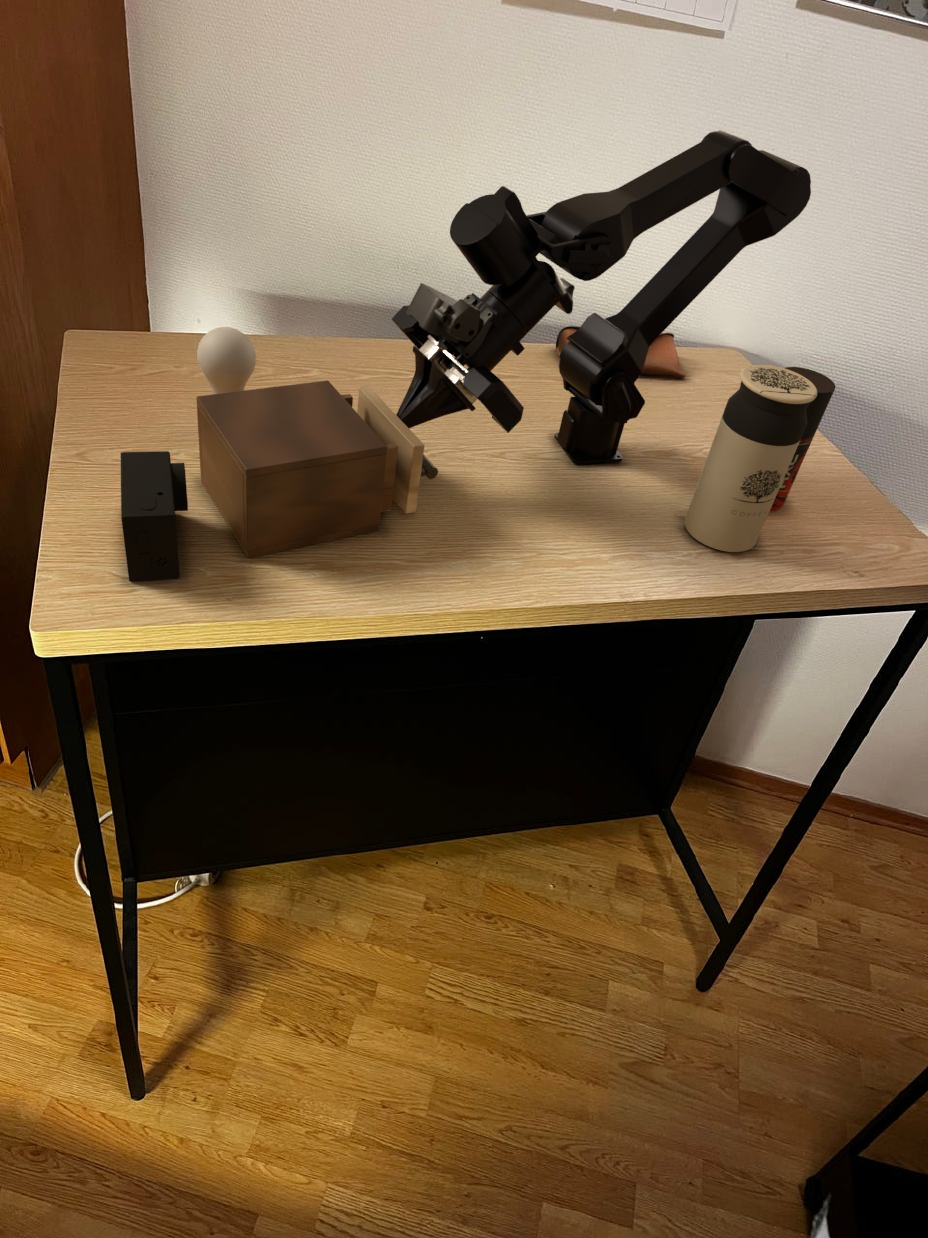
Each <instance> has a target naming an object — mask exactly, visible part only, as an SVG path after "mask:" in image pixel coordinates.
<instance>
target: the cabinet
mask: <svg viewBox="0 0 928 1238" xmlns="http://www.w3.org/2000/svg"><path fill="white" fill-rule="evenodd" d="M342 395H343V394H341V393H340V392H339V391H338V389H337V388H336V387H335V386H334V385H332V383H331V382H330V381H329V380H321V381H312V382H304V383H295V384H288V385H287V384H285V385H280V386H279V385H277V386H271V387H263V388H253V389H244V391H237V392H229V393H221V394H213V393H212V394H206V395H197V396H196V398H195V399H196V415H197V416H196V417H197V418H196V419H197V429H198V430H197V432H198V450H199V468H200V469H199V471H200V483H201V484H202V486H203V487H204V489H205V490H206V492H207V493H208V495H209V497H210V498H211V501H212V502H213V504H214V505H215V507H216V509H217V510H218V512H219V514H220V515H221V516H222V519H223V520H224V522H225V524H226V525H227V526H228V528H229V530H230V531H231V533H232V535H233V537H234V538H235V539H236V541H237V543H238V544H239V547H240V548H241V549H242V551H243V554H244V555H245V556H246V558H247V559H249V558H250V559H251V558H256V557H260V556H265V555H270V554H274V553H280V552H283V551H284V552H285V551H288V550H289V551H290V550H294V549H299V548H303V547H307V546H313V545H317V544H322V543H327V542H332V541H336V540H341V539H346V538H350V537H354V536H360V535H364V534H369V533H375V532H378V531H380V527H381V526H380V525H381V524H380V523H381V514H382V512H381V505H382V494H383V484H384V474H385V464H386V454H387V446H386V445H385V444H384V443H383V441H382V440H381V439H380V438H379V437H378V436H377V435H376V434H375V432H374V431H373V430H372V429H371V428H370V427H369V426H368V425H367V423H366V422H365V421H364V420H363V419H362V418H361V417H360V416H359V415H358V413H357V411H356V410H355V409H354V408H353V406H352V407H351V406H350V404H349V403H348V402H347V401H346V400H345V399H344V398H343V397H342Z"/></svg>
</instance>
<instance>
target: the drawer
mask: <svg viewBox="0 0 928 1238" xmlns="http://www.w3.org/2000/svg"><path fill="white" fill-rule="evenodd" d="M341 395H342V397H343V398H344V399H345V400H346V401H347V402H348V403H349V404H350V406H351V407H352V408H353V405H354V396H353V395H351V393H347V394H346V393H345V394H341ZM357 397H358V398H357V411H356V412H357V413H358V415H359V416H360V417H361V418H362V419H363V420H364V421H365V422H366V423H367V425H368V426H369V427H370V428H371V429H372V430H373V431H374V432H375V434H376V435H377V436H378V437H379V438H380V439H381V440H382V441H383V443H384V444H385V445H386V446H387V454H386V464H385V474H384V484H383V494H382V505H381V513H383V512H388V511H392V508H393V500H394V501H395V503H396V504H397V505H398V506H399V508H400V509H401V510H402V511H403V512H404V513H405V514H411V513H412V514H413V513H416V512H417V507H418V499H419V492H420V483H421V478H424V477H426V478H427V479H428V480H433V479H435V478H436V477H437V476H438V475H439V469H438V468H437V467H436V466H435V464H434V463H432V461H431V460H430V459H429V458H428V457H427V456H426V455H425V454H424V453H425V452H424V451H425V444H424V443H423V442H422V440H420V439H419V437H418V436H417V435H415V433H414V432H413V431H412V430H411V428H408V427H407V426H406V425H405V424H404V423H403V422H402V421H401V420H400V419H399V418H398V416H397V415H396V414H397V413H395V412H394V411H393V410H392V409H391V408H390V406H388V405H387V404H386V402H385V401H384V400H383V399H382V398H381V397H380V396H379V395H378V394H377V393H376V392H375V391H374V390H373V389H372V388H371V387H370V386H369V385H368V386H360V387H359V388H358V396H357Z"/></svg>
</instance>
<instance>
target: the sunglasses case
mask: <svg viewBox="0 0 928 1238" xmlns="http://www.w3.org/2000/svg"><path fill="white" fill-rule="evenodd" d="M580 327H581V326H579V325H578V326H575V325H568V326H565V327H563V328H562V329H560V330H559V331H558V333H557V337H556V341H555V352H556V354H557V356H558V358H559V359H560V353H561V351H562V350H563V348H564V347H565V346H566V344H567V343H568V342H569V340H568V339H567V337H568V336H570V335H571V334H573V333H574V332H576V331H577V330H578V329H579V328H580ZM674 338H675V334H674V333H672V332H662V333H661V334H660V335H659V336H658V337H657V338H656V339H655V340H654V341H653V343H652V344H651V345H650V346H649V349H648V353H647V357H646V360H645V364H644V368H643V371H642V373H641V375H640V376H639V377H657V378H661V377H663V378H665V377H666V378H667V377H668V378H673V377H674V378H675V377H676V378H677V377H685V378H686V375H687V374H685V373H684V372H683V370H682V367H681V363H680V358H679V355H678V352H677V351H678V350H677V347H676V343H675V340H674Z"/></svg>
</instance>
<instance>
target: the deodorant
mask: <svg viewBox="0 0 928 1238" xmlns="http://www.w3.org/2000/svg"><path fill="white" fill-rule="evenodd" d="M783 368H784V369H788V370H790V371H793V372H795V373H798V374H800V375H802V376H803V377H805V378H806V379H808V380H809V381H810V382H812V383H813V384H814V386H815V387H816V389H817V397H816V398H815V399H814V400H813V401H811V402H810V403H809V405H808V407H807V408H806V414H807V426H806V428H805V431H804V433H803V435H802V438H801V440H800V442H799V444H798V447H797V449H796V451H795V454H794V456H793V458H792V461H791V463H790V465H789V468H788V470H787V472H786V474H785V477H784V479H783V481H782V484H781V486H780V488H779V491H778V493H777V495H776V497H775V500H774V502H773V504H772V507H771V509H770V511H769V513H772V512H773V513H774V512H778V511H780V510H781V509H782V508H784V505H785V503H786V501H787V498H788V496H789V493H790V492H791V489H792V487H793V485H794V482H795V480H796V478H797V475H798V473H799V471H800V469H801V467H802V464H803V462H804V460H805V457H806V455H807V453H808V451H809V449H810V446H811V444H812V442H813V440H814V437H815V434H816V432H817V431H818V428H819V425H820V424H821V422H822V419H823V417H824V415H825V413H826V410H827V408H828V406H829V404H830V401H831V399H832V397H833V395H834V392H835V390H836V383H835V382H834V381H833V380H832V379H830V378H829V377H828V376H827V375H825V374H823V373H820V372H818V371H816V370H814V369H809V368H805V367H800V366H786V367H783Z"/></svg>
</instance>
